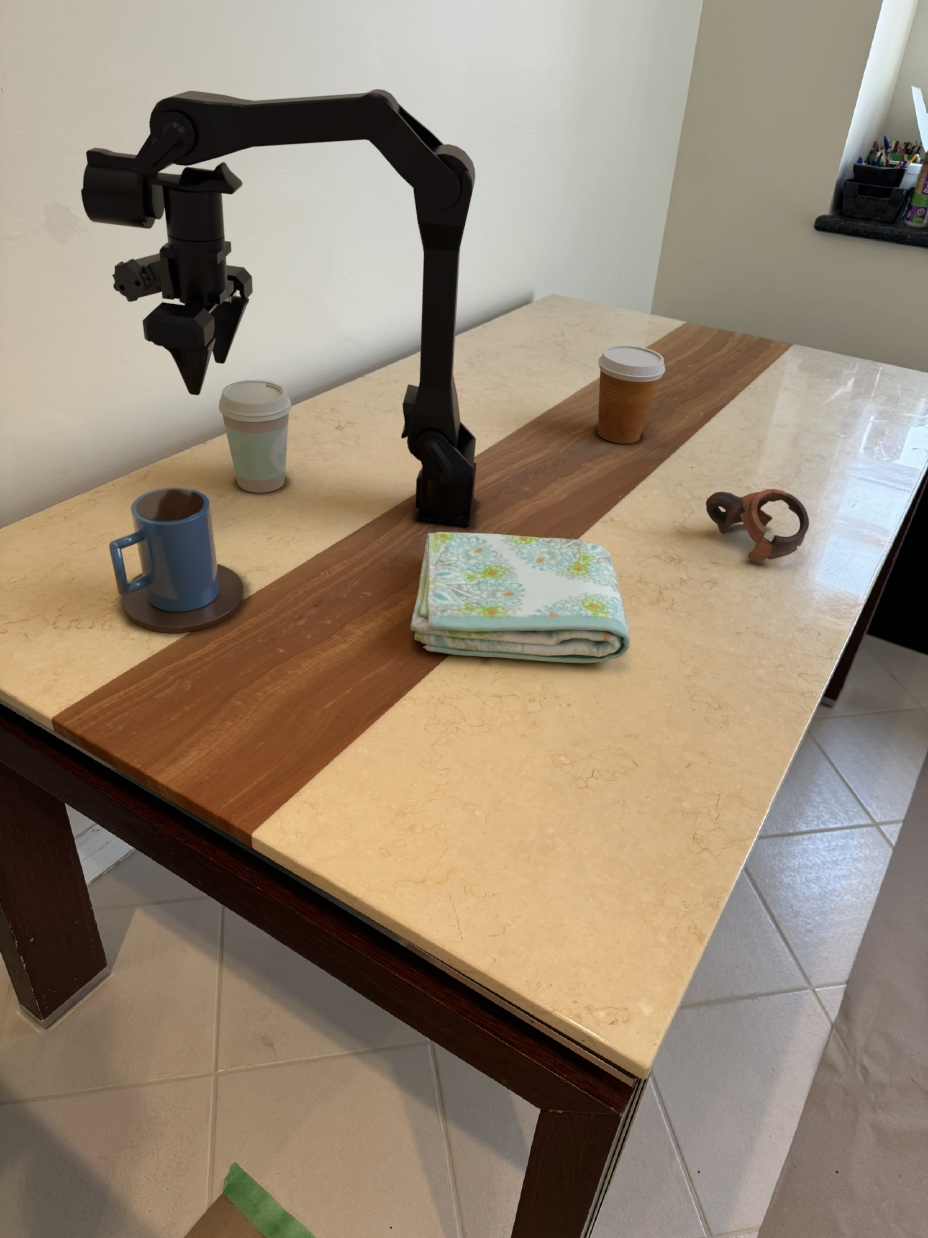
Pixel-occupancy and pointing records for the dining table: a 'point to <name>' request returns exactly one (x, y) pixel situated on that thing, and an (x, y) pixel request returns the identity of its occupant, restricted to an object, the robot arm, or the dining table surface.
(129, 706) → the dining table surface
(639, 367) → the disposable coffee cup
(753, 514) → the brown double ring bracket
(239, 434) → the coffee cup
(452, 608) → the towel
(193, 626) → the coaster
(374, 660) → the dining table surface
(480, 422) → the dining table surface
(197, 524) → the mug
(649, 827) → the dining table surface
